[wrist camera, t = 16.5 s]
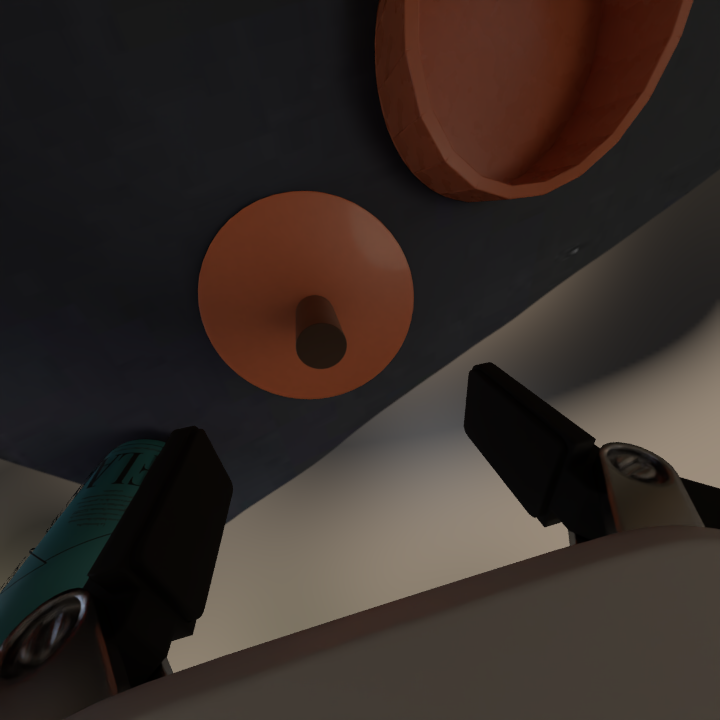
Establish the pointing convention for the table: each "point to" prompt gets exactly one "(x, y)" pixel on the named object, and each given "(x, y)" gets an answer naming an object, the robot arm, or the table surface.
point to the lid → (305, 294)
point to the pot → (516, 86)
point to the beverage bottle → (78, 533)
